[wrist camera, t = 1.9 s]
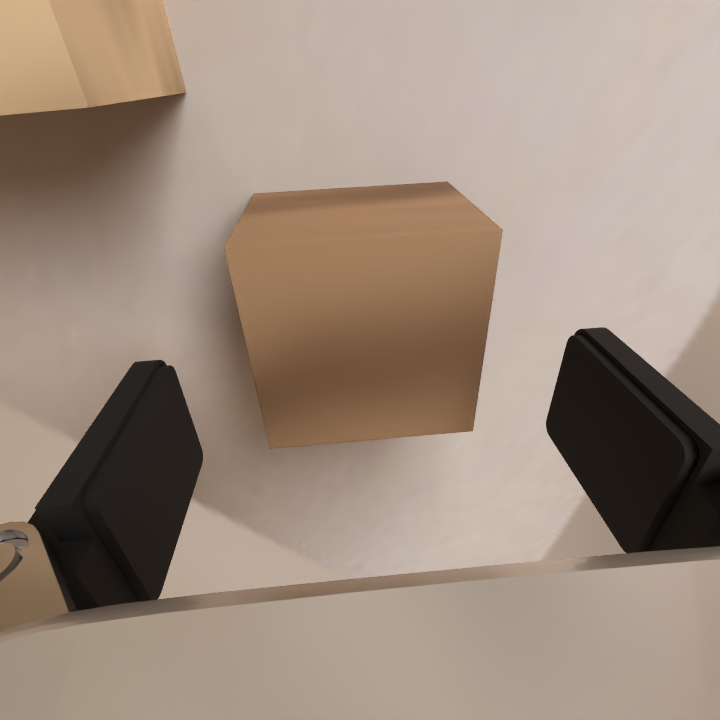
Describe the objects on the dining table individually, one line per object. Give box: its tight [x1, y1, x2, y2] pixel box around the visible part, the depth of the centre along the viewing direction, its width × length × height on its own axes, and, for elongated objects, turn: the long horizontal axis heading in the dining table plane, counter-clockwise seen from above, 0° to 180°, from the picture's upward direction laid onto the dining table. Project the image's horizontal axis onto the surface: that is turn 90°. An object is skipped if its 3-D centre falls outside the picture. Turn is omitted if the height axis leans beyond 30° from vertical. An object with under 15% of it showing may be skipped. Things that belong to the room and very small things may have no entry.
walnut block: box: [224, 182, 503, 448], centre depth 13 cm, size 6×6×5 cm
